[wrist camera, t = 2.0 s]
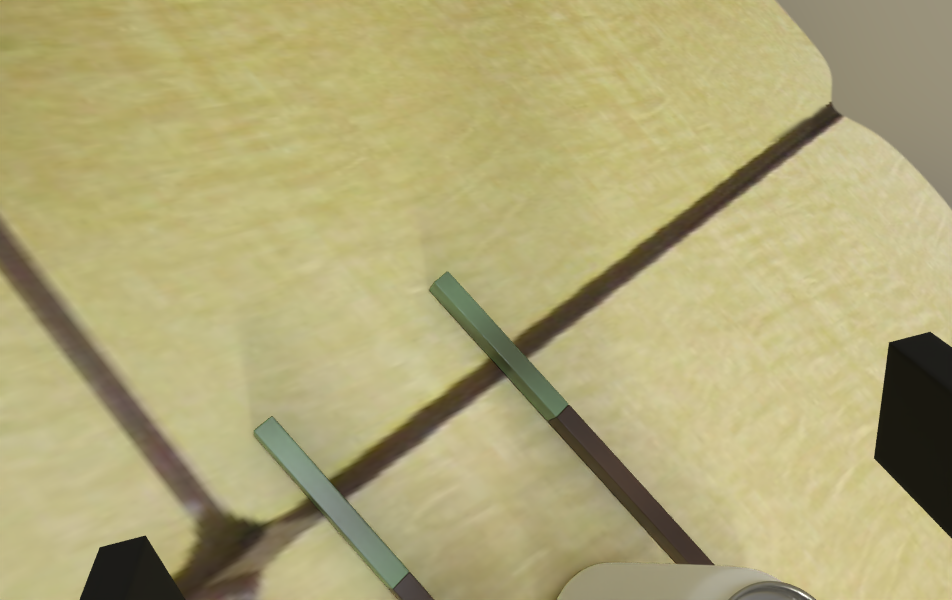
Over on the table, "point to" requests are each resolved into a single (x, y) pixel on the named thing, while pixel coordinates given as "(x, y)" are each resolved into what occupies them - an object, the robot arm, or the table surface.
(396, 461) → the table surface
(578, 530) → the table surface
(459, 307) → the chopsticks
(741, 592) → the can
